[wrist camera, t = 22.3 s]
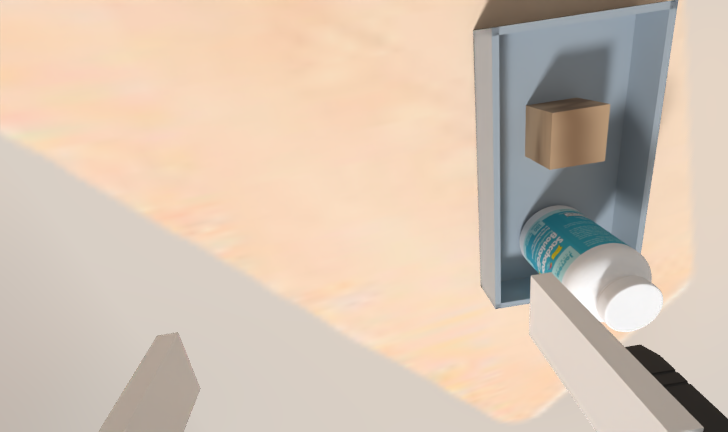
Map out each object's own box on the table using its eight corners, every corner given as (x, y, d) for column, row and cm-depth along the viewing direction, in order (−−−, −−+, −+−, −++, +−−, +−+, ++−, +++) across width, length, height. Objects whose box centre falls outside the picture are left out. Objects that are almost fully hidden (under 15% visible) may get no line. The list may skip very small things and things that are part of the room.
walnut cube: (577, 97, 38) (610, 104, 34) (573, 148, 40) (604, 161, 36) (525, 105, 38) (552, 113, 34) (524, 156, 40) (549, 169, 36)
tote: (473, 30, 36) (491, 27, 32) (638, 5, 36) (678, -1, 32) (480, 285, 47) (495, 309, 43) (609, 265, 47) (635, 286, 43)
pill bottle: (516, 208, 42) (593, 274, 30) (585, 197, 43) (689, 259, 30) (515, 269, 45) (584, 352, 33) (580, 259, 46) (673, 338, 33)
